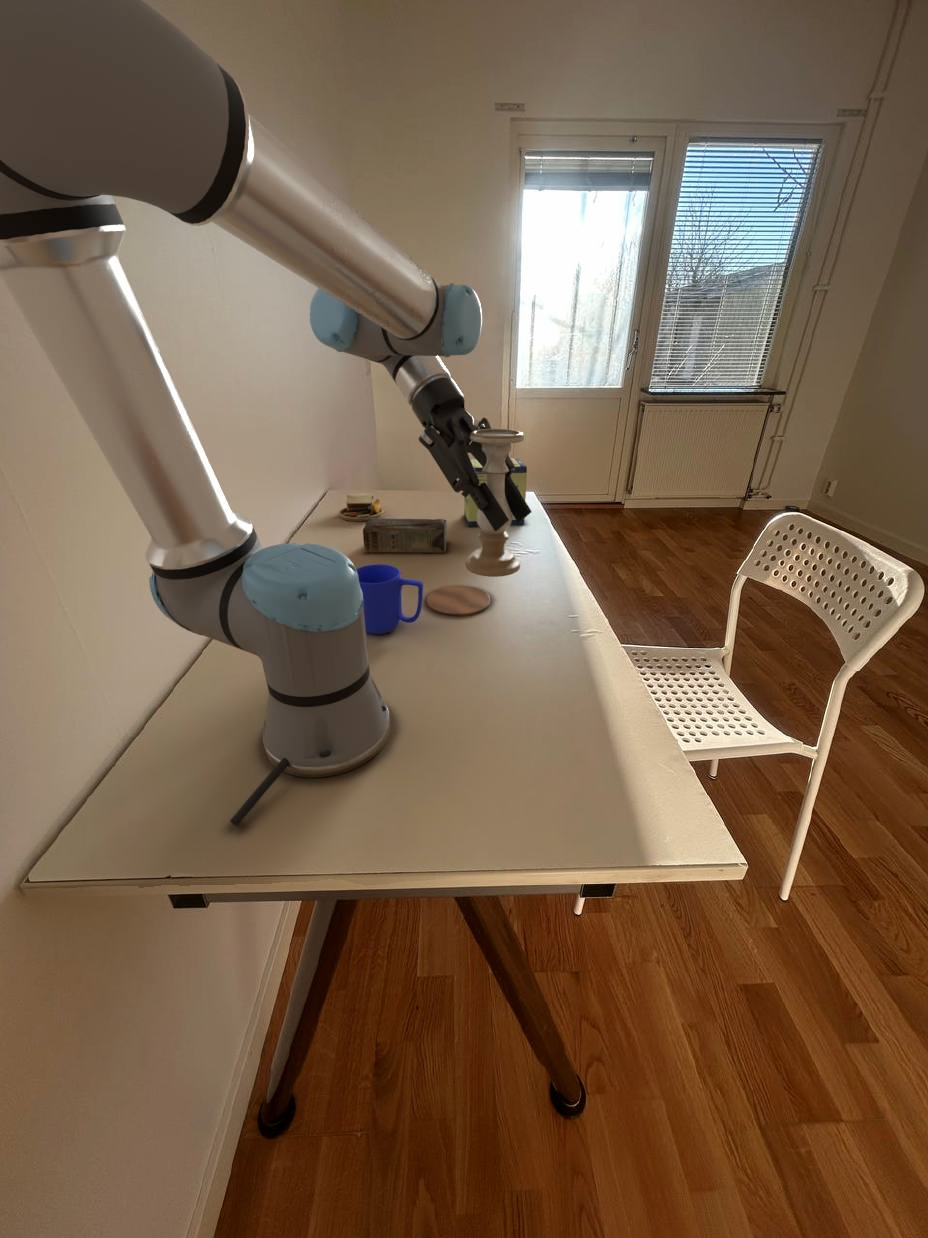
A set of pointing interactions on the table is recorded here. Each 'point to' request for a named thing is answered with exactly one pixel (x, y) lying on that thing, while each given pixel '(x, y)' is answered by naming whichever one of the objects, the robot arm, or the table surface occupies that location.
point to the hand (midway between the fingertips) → (513, 521)
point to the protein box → (469, 504)
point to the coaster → (458, 600)
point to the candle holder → (493, 554)
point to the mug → (385, 597)
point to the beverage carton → (405, 535)
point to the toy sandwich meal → (361, 507)
